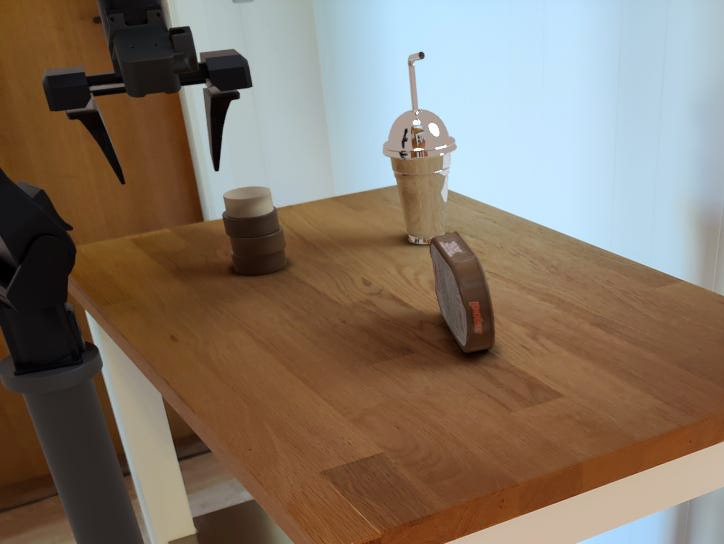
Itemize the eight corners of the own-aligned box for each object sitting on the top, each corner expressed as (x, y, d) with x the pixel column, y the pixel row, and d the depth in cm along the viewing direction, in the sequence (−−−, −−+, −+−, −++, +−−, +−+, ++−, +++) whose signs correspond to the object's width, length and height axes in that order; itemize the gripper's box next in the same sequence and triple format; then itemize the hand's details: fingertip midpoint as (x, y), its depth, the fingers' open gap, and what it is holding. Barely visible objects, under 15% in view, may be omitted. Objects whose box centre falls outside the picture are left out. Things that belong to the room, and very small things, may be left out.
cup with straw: (468, 227, 121) (457, 37, 109) (454, 251, 114) (440, 51, 102) (401, 228, 122) (382, 40, 110) (382, 251, 116) (360, 54, 103)
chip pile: (238, 279, 111) (226, 222, 107) (229, 263, 115) (218, 208, 112) (293, 269, 112) (284, 214, 108) (283, 254, 117) (273, 200, 113)
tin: (499, 363, 88) (495, 266, 83) (465, 368, 88) (458, 271, 82) (462, 307, 100) (455, 219, 94) (431, 311, 99) (423, 223, 94)
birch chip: (230, 221, 107) (226, 201, 106) (223, 209, 111) (219, 190, 110) (277, 213, 109) (274, 194, 107) (269, 202, 112) (266, 183, 111)
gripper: (18, 10, 81) (76, 210, 91) (244, -12, 86) (277, 181, 95) (19, -1, 90) (73, 183, 99) (226, -21, 94) (257, 158, 104)
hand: (170, 177), depth 99 cm, fingers open, 9 cm apart
